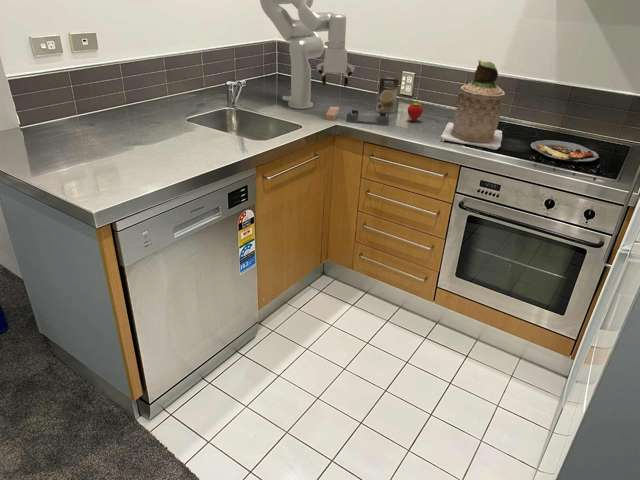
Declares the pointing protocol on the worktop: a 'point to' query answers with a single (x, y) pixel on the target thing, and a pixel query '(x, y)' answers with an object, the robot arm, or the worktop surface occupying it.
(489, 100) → the cookie jar
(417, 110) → the strawberry
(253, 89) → the worktop surface
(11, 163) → the worktop surface
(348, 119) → the drying rack
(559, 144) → the food plate
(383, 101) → the coffee box
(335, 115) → the clay strip
